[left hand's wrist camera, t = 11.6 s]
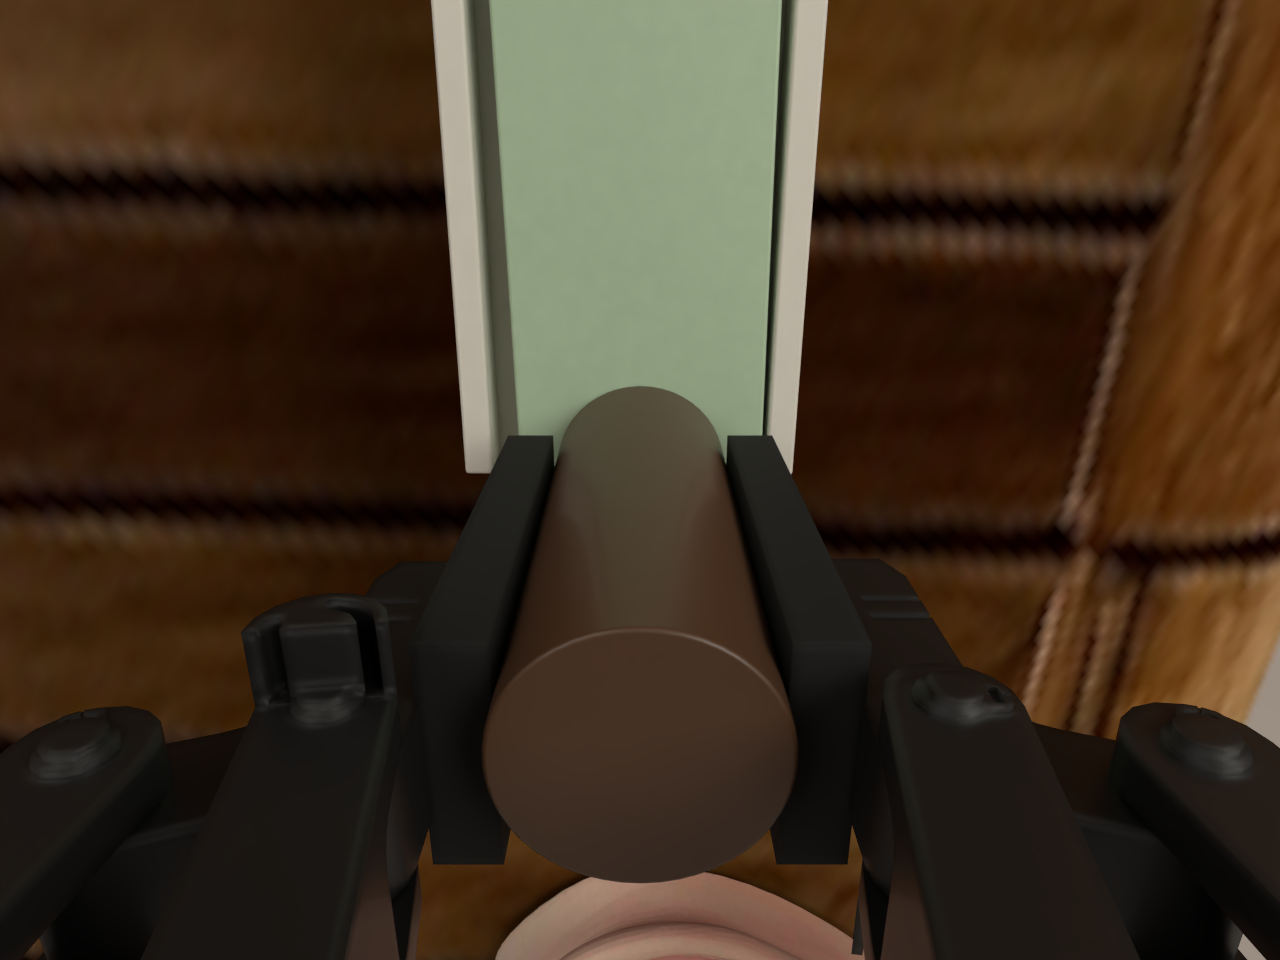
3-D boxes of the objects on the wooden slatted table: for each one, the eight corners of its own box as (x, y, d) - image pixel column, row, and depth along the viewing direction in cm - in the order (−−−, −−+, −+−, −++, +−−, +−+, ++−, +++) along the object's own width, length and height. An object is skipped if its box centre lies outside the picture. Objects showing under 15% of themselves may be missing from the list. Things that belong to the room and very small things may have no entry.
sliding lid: (750, 587, 17) (848, 989, 9) (534, 589, 17) (437, 992, 9) (794, -468, 11) (1203, -2092, 3) (466, -462, 11) (4, -2062, 3)
